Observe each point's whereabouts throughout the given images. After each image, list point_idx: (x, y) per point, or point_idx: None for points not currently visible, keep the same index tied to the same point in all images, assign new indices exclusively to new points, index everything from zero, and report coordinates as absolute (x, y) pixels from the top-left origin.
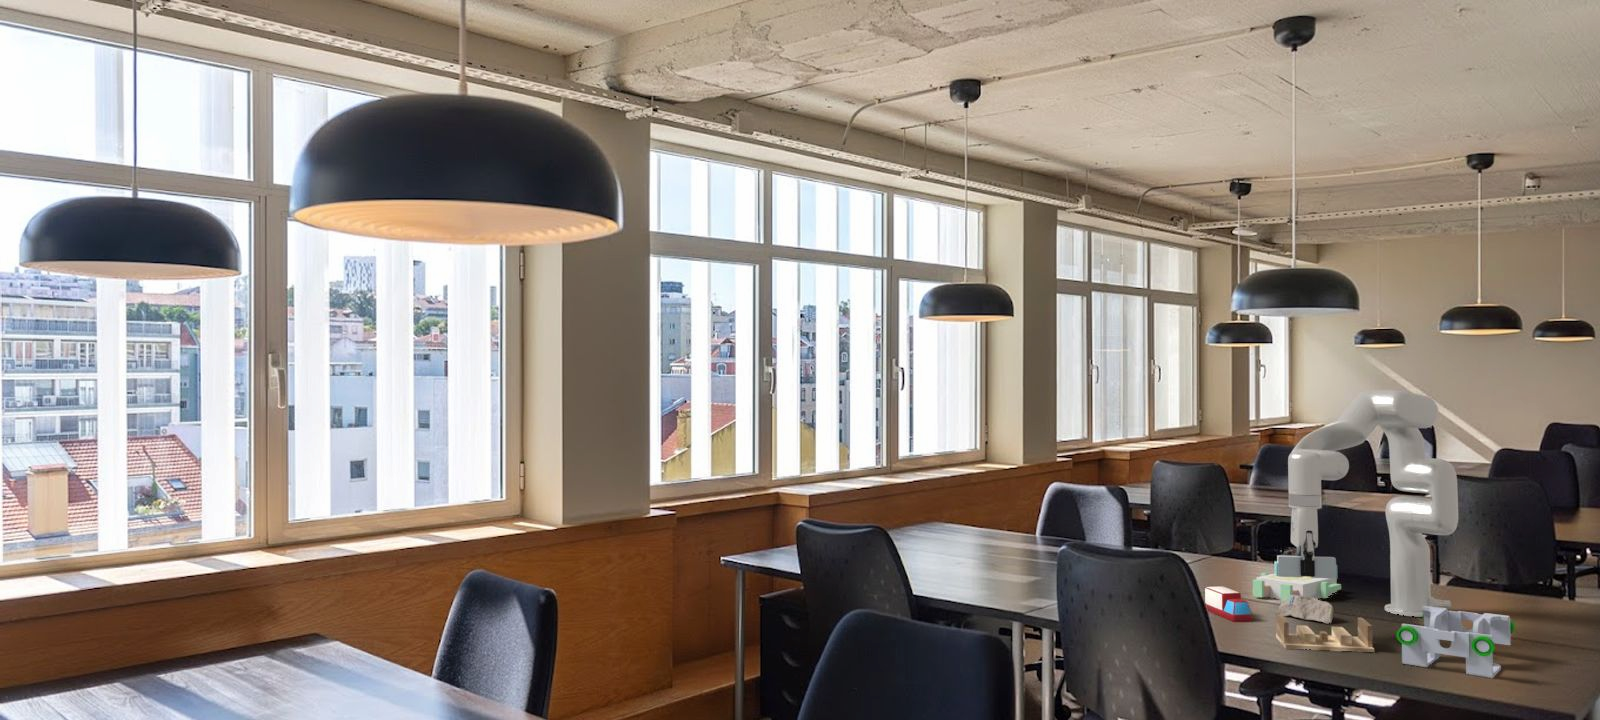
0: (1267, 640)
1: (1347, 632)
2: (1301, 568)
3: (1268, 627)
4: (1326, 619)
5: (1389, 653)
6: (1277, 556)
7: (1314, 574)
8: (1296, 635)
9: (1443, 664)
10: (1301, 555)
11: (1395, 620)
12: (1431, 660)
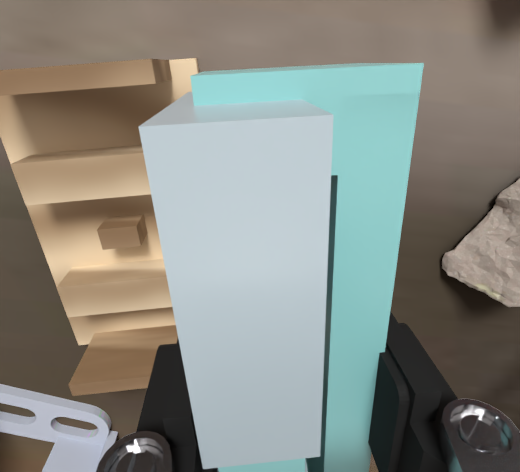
0: (119, 9)
1: (116, 310)
2: (178, 343)
3: (374, 45)
4: (456, 265)
5: None
6: (267, 115)
7: None
8: None
9: (38, 445)
10: (417, 452)
11: None
12: (27, 436)
